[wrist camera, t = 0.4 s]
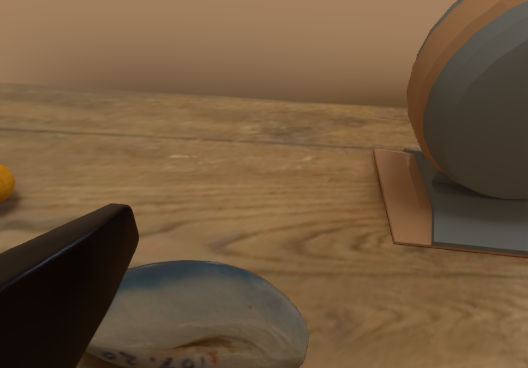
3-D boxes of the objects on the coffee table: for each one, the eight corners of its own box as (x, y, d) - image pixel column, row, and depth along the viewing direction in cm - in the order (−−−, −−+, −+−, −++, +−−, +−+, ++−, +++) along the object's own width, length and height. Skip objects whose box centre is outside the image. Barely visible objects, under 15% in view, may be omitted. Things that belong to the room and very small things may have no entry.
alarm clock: (524, 167, 36) (698, -63, 23) (581, 263, 29) (872, 6, 16) (361, 149, 35) (450, -100, 23) (379, 241, 28) (522, -43, 16)
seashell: (34, 272, 21) (83, 367, 13) (197, 217, 26) (307, 260, 18) (66, 379, 22) (127, 526, 14) (214, 308, 27) (322, 386, 19)
